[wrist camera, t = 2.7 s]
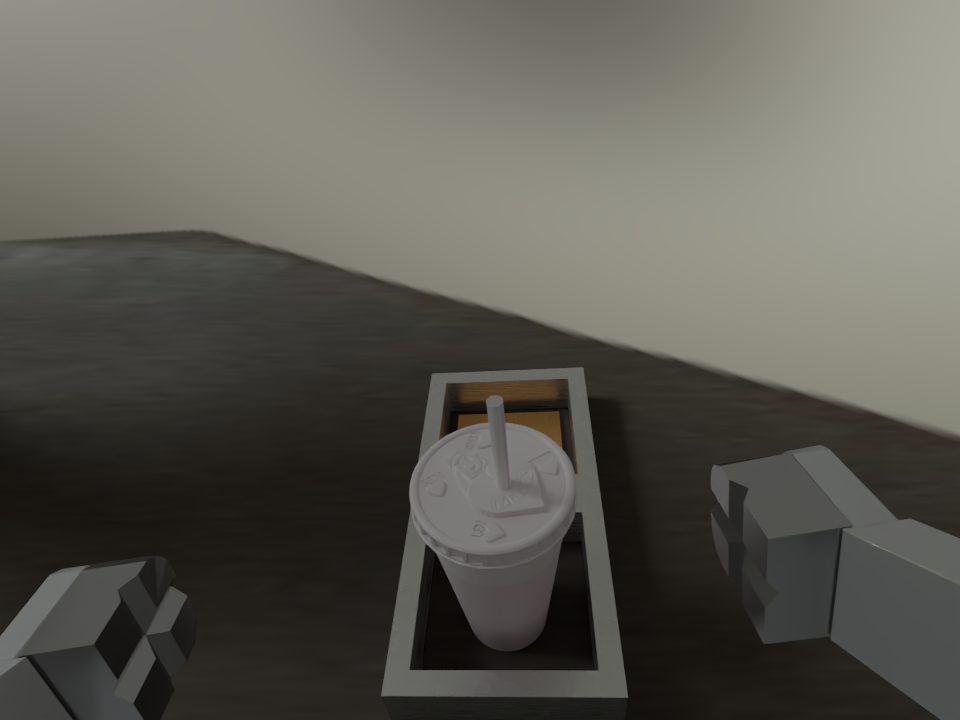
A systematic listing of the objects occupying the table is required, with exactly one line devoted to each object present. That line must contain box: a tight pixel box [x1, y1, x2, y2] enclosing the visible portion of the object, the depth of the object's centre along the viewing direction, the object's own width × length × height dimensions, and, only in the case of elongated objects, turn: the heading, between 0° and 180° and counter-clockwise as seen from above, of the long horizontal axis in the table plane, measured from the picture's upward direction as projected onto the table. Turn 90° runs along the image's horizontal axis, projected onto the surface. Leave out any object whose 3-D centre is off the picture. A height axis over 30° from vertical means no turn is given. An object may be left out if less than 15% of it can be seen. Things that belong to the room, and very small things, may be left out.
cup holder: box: [381, 367, 628, 720], centre depth 32 cm, size 10×20×2 cm, turn 178°
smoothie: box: [409, 395, 578, 651], centre depth 25 cm, size 6×6×14 cm
